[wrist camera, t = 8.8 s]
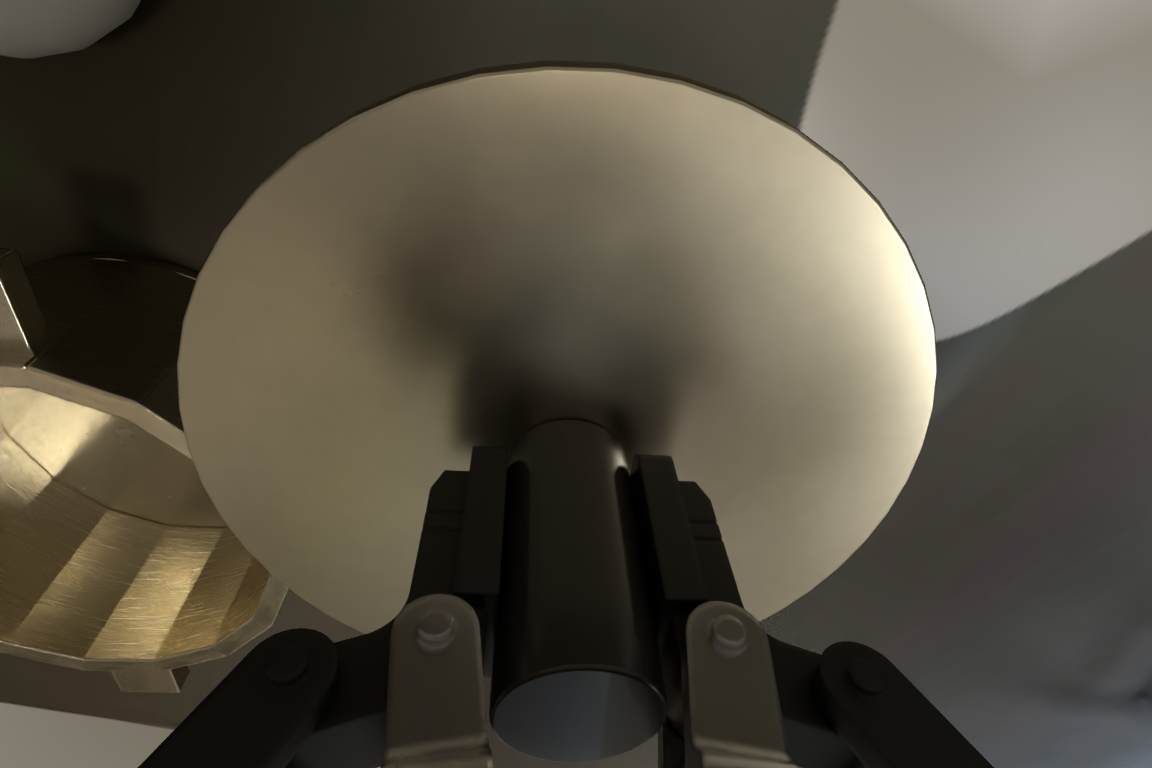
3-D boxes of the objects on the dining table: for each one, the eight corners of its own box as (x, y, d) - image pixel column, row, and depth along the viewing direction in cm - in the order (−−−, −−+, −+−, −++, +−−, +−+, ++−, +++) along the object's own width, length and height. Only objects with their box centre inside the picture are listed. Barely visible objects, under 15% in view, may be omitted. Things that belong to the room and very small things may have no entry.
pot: (65, 562, 32) (-46, 707, 26) (-140, 160, 21) (-418, 247, 15) (360, 570, 34) (321, 710, 28) (313, 197, 23) (227, 291, 17)
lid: (269, 629, 18) (153, 922, 13) (99, 1, 10) (-483, 75, 4) (792, 640, 20) (889, 908, 14) (1050, 103, 11) (1548, 257, 6)
